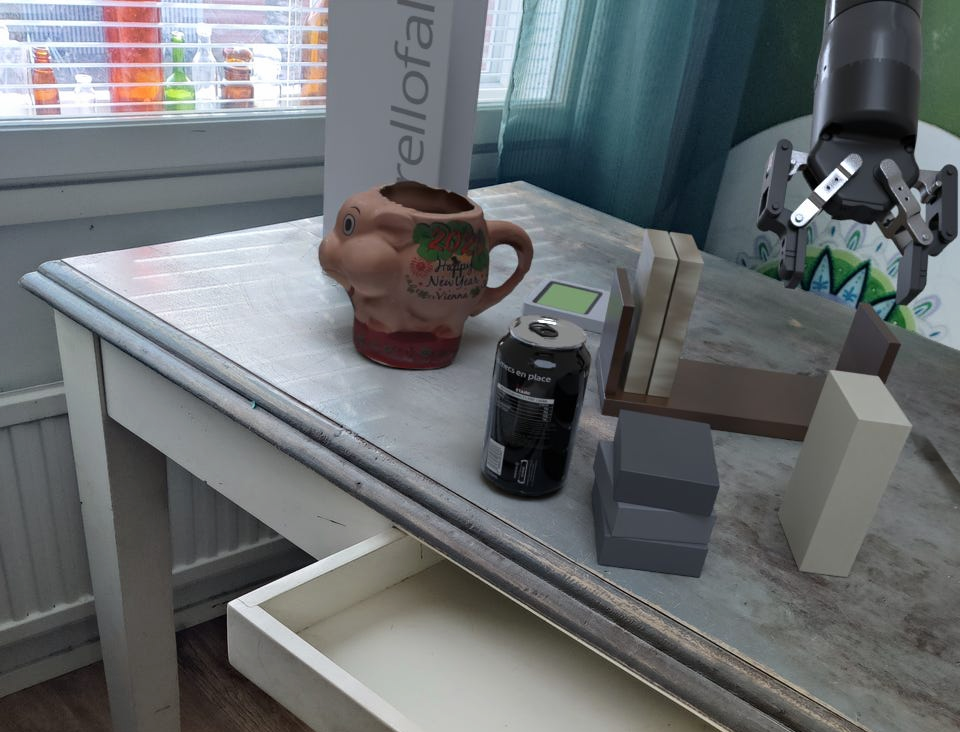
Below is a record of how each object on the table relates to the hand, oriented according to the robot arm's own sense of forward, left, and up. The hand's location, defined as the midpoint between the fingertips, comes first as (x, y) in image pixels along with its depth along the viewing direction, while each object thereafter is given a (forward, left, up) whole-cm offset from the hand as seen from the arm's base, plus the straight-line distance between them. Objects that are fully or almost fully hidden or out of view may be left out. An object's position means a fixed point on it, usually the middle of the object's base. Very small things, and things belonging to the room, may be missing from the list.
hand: (850, 292), depth 72 cm
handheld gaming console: (+14, -33, -16) cm, 39 cm away
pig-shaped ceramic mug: (+32, -17, -16) cm, 40 cm away
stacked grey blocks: (+13, +11, -16) cm, 23 cm away
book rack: (+3, -14, -16) cm, 21 cm away
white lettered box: (+37, -33, -16) cm, 52 cm away
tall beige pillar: (0, +10, -16) cm, 19 cm away
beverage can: (+22, +6, -16) cm, 28 cm away
